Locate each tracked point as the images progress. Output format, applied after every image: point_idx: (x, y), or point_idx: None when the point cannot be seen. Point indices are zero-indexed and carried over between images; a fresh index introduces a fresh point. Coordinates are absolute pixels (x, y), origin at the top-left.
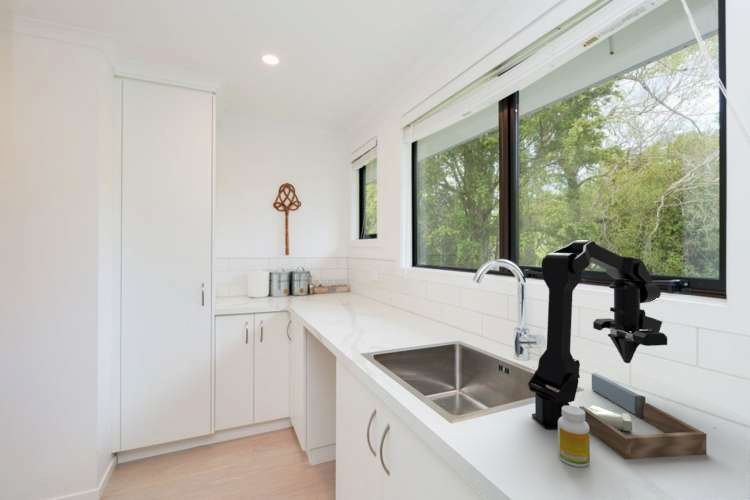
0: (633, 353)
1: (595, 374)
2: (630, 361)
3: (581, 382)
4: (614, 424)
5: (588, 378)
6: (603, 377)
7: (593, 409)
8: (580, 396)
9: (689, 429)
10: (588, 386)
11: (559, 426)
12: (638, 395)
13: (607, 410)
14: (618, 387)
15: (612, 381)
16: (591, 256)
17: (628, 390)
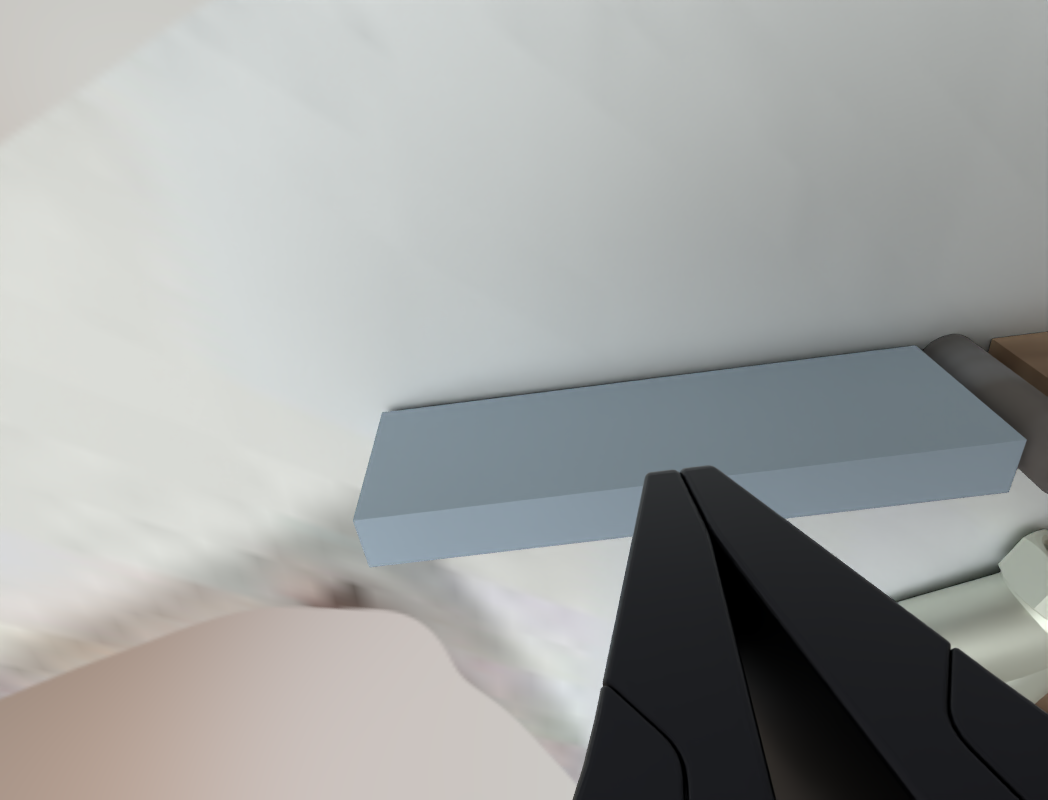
0: (904, 630)
1: (395, 545)
2: (733, 484)
3: (202, 448)
4: None
5: (41, 334)
6: (491, 515)
7: None
8: (534, 571)
9: None
10: (302, 434)
11: None
12: (1043, 475)
13: (997, 670)
14: (784, 516)
15: (618, 490)
16: None
17: (877, 470)
